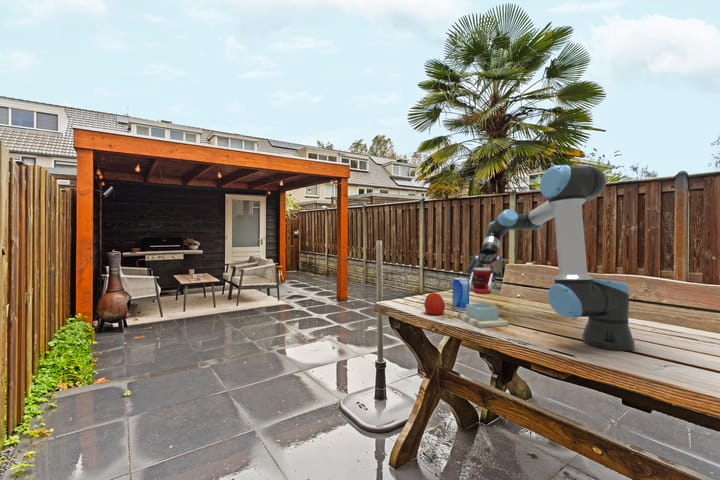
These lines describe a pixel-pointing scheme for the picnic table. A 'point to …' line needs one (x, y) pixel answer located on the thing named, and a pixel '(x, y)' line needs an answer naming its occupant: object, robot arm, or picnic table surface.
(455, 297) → the beer can
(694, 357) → the picnic table surface
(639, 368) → the picnic table surface
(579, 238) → the robot arm
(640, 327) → the picnic table surface
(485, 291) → the canned food
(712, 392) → the picnic table surface
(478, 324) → the board
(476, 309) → the pedestal
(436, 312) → the apple
